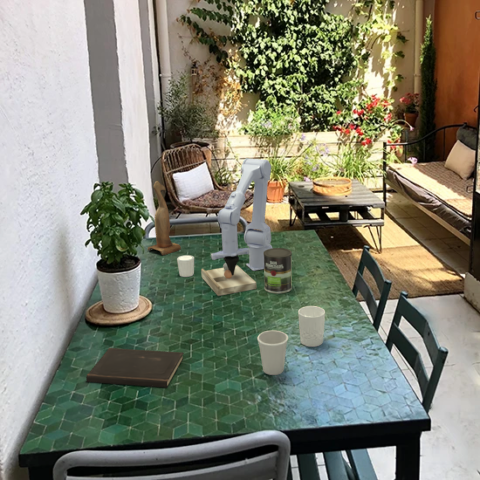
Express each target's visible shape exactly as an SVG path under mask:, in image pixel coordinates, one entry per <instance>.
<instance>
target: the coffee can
mask: <svg viewBox="0 0 480 480" xmlns="http://www.w3.org/2000/svg"><path fill="white" fill-rule="evenodd" d="M263 254H264V269H263V271H264V272H263V274H264V275H263V276H264V279H263V281H264V290H265V291H266V292H268V293H270V294H286V293H288V292H290V291H291V290H293V285H292V283H293V281H292V280H293V279H292V277H293V276H292V271H293V270H292V268H293V266H292V265H293V264H292V260H293V259H292V258H293V257H292V255H293V252H292V251H291V250H290V249H288V248H283V247H272V248H271V249H268V250H265V251H264V253H263Z"/></svg>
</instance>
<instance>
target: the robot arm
mask: <svg viewBox="0 0 480 480" xmlns="http://www.w3.org/2000/svg"><path fill="white" fill-rule="evenodd" d="M271 170H272V165H271V163H270V161H269V160H268V159H260V158H259V159H258V158H248V157H246V158H245V159H243V162H242V163H241V176H240V179H239V181H238V184H237V186H236V189H235V191H232V192H231V193H230V195H229V197H228V199H227V202H226V203H225V205H224V207H223V208H222V209H220V210H219V211H218V214H217V222H218V224H219V227H220V229H221V244H222V246H221V247H222V250H220V251H216V252H213V253H210V255H211V260H212V261H216V260H217V259H223V260H224V263H226V264H227V266H228V269H229V270H230V271H231V274H232V275H234V271H235V267H236V265H237V264H238V262H239V260H240V257H239V256H242V255H248V257H249V260H248V261H249V263H245V266H246V267H248V268H249V269H250V270H251V271H254V272H255V271H259V270H260V271H261V270H264V254H263V253H264V251H265V250H268V249H271V248H273V246H272V245H271V242H272V233H271V227H270V226H269V225H268V224H267V223H266V221H265V220H266V208H267V198H268V183H269V181H270V180H271V173H272V171H271ZM252 182H254V189H253V200H252V213H251V215H252V216H251V222H249V224H247V225H246V227H245V232H244V234H243V239H244V242H245V244H246V246H247V247H242V248H241V247H240V248H239V245H238V240H239V239H238V223H239V222H240V219H241V210H242V207H243V206H244V203H245V201H246V196H245V194H246V193H247V191H248V189H249V188H250V186H251V184H252Z"/></svg>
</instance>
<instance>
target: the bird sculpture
mask: <svg viewBox="0 0 480 480" xmlns="http://www.w3.org/2000/svg"><path fill="white" fill-rule="evenodd" d="M159 181H160V180H155V182H154V184H153V189H154V192H155V195H156V198H157V201H158V207H157V209H156V211H155V213H154V232H155V241H156V244H155V245H154V244H153V245H152V246H151V245H150V246H148V247H147V251H148V250H149V251H152V250H156V251H159V252H160V254H161V255H162V256H165V255H168V254H171V253H175V252H178V251H181V249H182V247H181V245H180V244H178V243H175V242H172V240H171V237H170V232H171V224H170V223H171V220H170V213H169V209H168V206H167V202H166V200H165V198H164V197H163V194H162V192H166V187H165V185H163V184H162V183H161V182H159ZM151 249H152V250H151Z"/></svg>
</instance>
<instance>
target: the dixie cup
mask: <svg viewBox="0 0 480 480" xmlns="http://www.w3.org/2000/svg"><path fill="white" fill-rule="evenodd" d="M288 340H289V336H288V334H287V333H286V332H284V331H280V330H265V331H262V332H261V333H259V335H258V336H257V342H258V346H259V352H260V358H261V366H262V370H263V373H264V374H267V375H271V376H277V375H281V374H282V373H283V372H285V371H284V369H285V361H286V354H287V346H288Z"/></svg>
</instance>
